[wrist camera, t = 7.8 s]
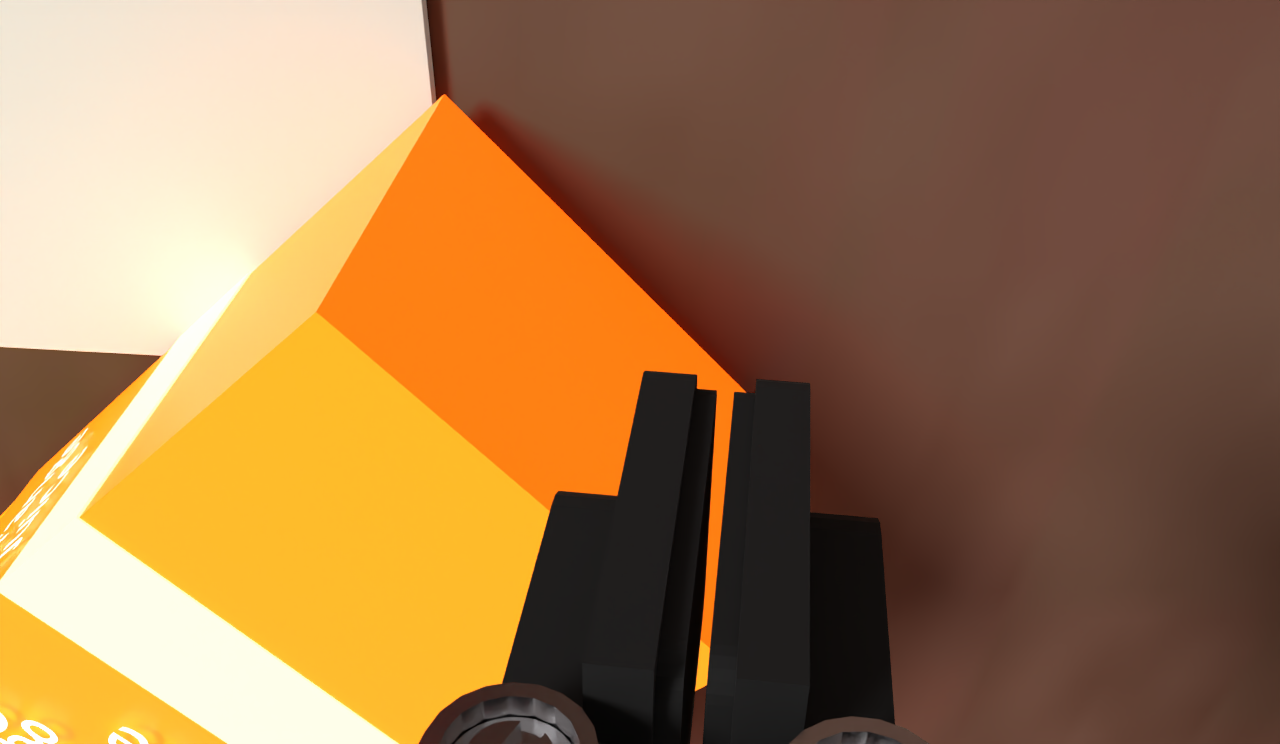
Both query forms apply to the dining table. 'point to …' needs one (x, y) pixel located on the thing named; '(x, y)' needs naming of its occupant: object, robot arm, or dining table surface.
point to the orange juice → (339, 472)
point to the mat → (181, 149)
